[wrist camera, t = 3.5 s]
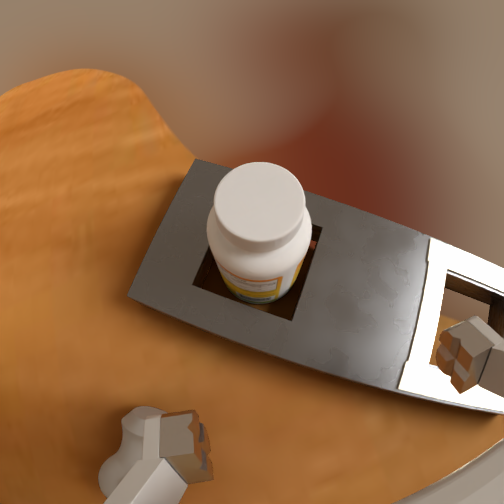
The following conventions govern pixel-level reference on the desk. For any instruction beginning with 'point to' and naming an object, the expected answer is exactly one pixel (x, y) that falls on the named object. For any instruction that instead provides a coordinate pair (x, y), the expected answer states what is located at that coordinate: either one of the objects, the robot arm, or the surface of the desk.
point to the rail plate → (330, 295)
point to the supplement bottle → (259, 231)
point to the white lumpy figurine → (126, 449)
